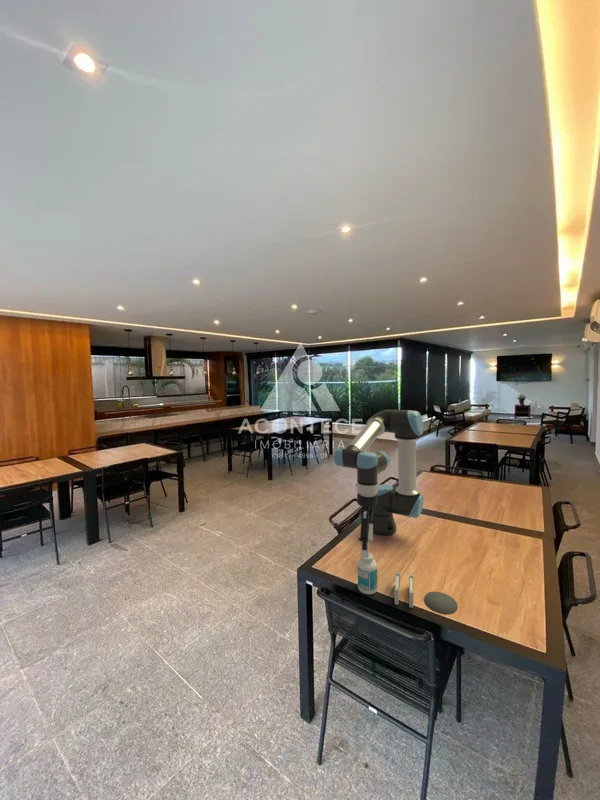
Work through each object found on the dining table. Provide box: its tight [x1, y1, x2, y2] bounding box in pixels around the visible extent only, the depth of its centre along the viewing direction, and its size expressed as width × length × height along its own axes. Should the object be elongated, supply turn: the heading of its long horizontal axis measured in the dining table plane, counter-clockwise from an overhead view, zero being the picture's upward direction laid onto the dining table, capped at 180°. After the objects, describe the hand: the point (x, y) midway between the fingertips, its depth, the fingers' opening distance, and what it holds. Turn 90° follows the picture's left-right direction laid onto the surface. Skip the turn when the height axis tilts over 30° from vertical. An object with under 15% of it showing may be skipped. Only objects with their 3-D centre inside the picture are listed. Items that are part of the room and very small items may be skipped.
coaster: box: [423, 591, 458, 615], centre depth 118 cm, size 11×11×1 cm
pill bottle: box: [357, 552, 378, 595], centre depth 126 cm, size 8×7×14 cm
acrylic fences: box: [394, 570, 414, 609], centre depth 122 cm, size 11×6×6 cm, turn 161°
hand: (367, 548), depth 125 cm, fingers open, 13 cm apart
